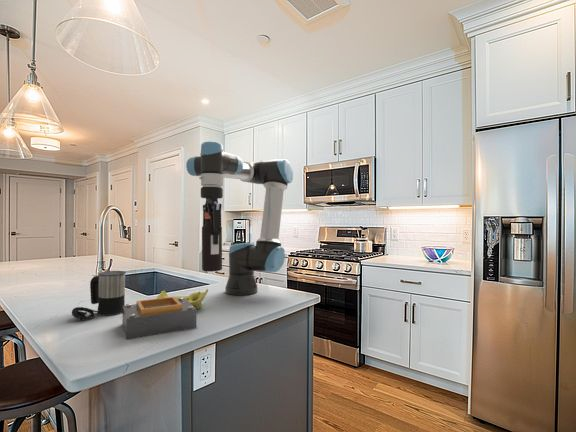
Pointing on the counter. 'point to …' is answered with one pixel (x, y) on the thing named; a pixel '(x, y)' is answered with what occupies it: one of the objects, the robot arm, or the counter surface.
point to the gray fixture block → (158, 317)
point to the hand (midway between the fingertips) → (211, 253)
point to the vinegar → (210, 260)
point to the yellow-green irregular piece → (189, 298)
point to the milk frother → (105, 295)
